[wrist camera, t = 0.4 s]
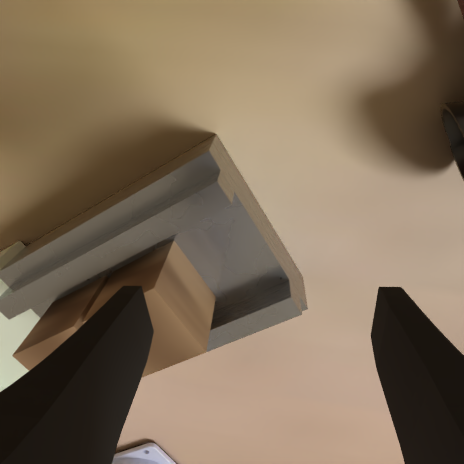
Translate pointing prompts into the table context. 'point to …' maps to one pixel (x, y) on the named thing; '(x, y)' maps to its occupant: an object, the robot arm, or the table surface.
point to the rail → (163, 232)
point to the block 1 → (58, 324)
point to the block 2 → (167, 304)
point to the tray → (12, 329)
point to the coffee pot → (455, 123)
